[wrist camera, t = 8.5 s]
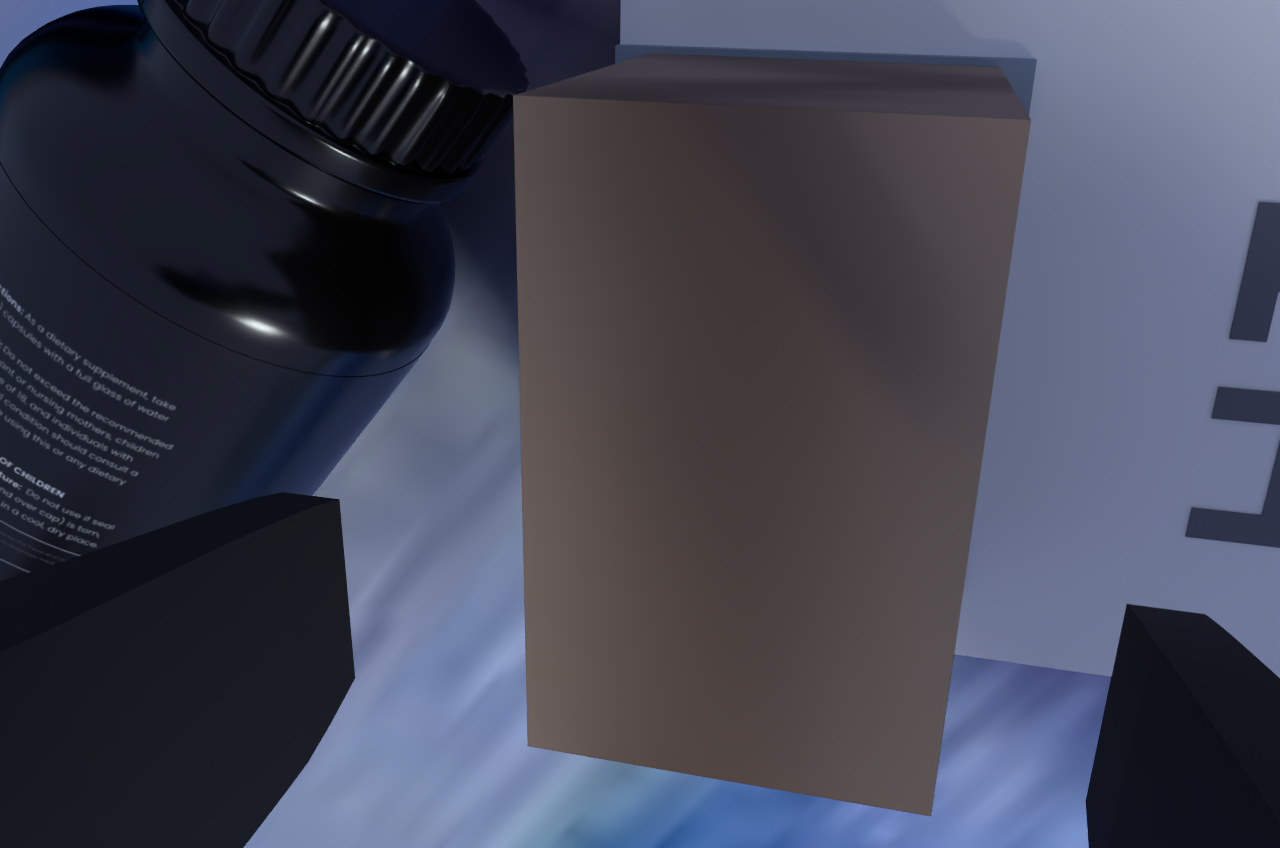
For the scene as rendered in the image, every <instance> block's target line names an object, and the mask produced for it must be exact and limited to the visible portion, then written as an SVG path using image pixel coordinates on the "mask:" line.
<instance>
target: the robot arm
mask: <svg viewBox="0 0 1280 848" xmlns="http://www.w3.org/2000/svg"><path fill="white" fill-rule="evenodd" d="M354 679H355V672H354V661H353V649H352V638H351V627H350V615H349V604H348V593H347V581H346V570H345V559H344V547H343V536H342V525H341V513H340V502H339V499H332V498H324V497H317V496H309V495H302V494H294V493H286V492H281V493H276V494H271V495H266V496H261V497H257V498H253V499H249V500H246V501H242V502H239V503H235V504H232V505H228V506H225V507H222V508H219V509H216V510H213V511H209V512H206V513H203V514H200V515H197V516H194V517H191V518H188V519H185V520H183V521H180V522H177V523H174V524H171V525H168V526H165V527H162V528H159V529H156V530H153V531H151V532H148V533H145V534H142V535H139V536H136V537H133V538H130V539H128V540H125V541H122V542H119V543H116V544H113V545H110V546H107V547H104V548H102V549H99V550H96V551H93V552H90V553H87V554H84V555H81V556H78V557H75V558H72V559H69V560H66V561H63V562H60V563H57V564H54V565H50V566H47V567H44V568H41V569H38V570H35V571H31V572H28V573H25V574H22V575H19V576H16V577H13V578H9V579H6V580H3V581H0V848H243V847H244V846H245V845H246V843H247V842H248V841H249V840H250V838H251V837H252V836H253V834H254V833H255V832H256V831H257V829H258V828H259V827H260V825H261V824H262V823H263V821H264V820H265V819H266V817H267V816H268V815H269V813H270V812H271V811H272V810H273V808H274V807H275V806H276V804H277V803H278V802H279V800H280V799H281V798H282V796H283V795H284V794H285V792H286V791H287V790H288V788H289V787H290V786H291V785H292V783H293V782H294V780H295V779H296V778H297V776H298V775H299V774H300V772H301V771H302V770H303V768H304V767H305V765H306V764H307V763H308V761H309V759H310V758H311V756H312V754H313V753H314V751H315V749H316V748H317V746H318V744H319V743H320V741H321V739H322V737H323V736H324V734H325V732H326V731H327V729H328V727H329V726H330V724H331V722H332V720H333V718H334V716H335V714H336V713H337V711H338V709H339V707H340V705H341V703H342V701H343V700H344V698H345V696H346V694H347V692H348V690H349V688H350V686H351V685H352V683H353V681H354ZM1086 811H1087V826H1088V840H1089V848H1280V678H1279V677H1278V676H1277V675H1276V674H1275V673H1274V672H1272V671H1271V670H1270V669H1269V668H1268V667H1267V666H1266V665H1265V664H1264V663H1262V662H1261V661H1260V660H1259V659H1258V658H1257V657H1256V656H1255V655H1254V654H1252V653H1251V652H1250V651H1249V650H1248V649H1247V648H1246V647H1245V646H1243V645H1242V644H1241V643H1240V642H1239V641H1238V640H1237V639H1235V638H1234V637H1233V636H1232V635H1231V634H1230V633H1229V632H1227V631H1226V630H1225V629H1224V628H1223V627H1221V626H1220V625H1219V624H1218V623H1216V622H1215V621H1214V620H1212V619H1211V618H1210V617H1209V616H1207V615H1206V614H1200V613H1193V612H1185V611H1178V610H1170V609H1163V608H1155V607H1147V606H1140V605H1132V604H1127V605H1126V609H1125V614H1124V619H1123V624H1122V629H1121V633H1120V638H1119V643H1118V648H1117V653H1116V658H1115V662H1114V667H1113V672H1112V677H1111V682H1110V686H1109V691H1108V696H1107V701H1106V706H1105V711H1104V715H1103V720H1102V725H1101V730H1100V735H1099V740H1098V744H1097V749H1096V754H1095V759H1094V764H1093V768H1092V773H1091V778H1090V783H1089V788H1088V793H1087V797H1086Z"/></svg>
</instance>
